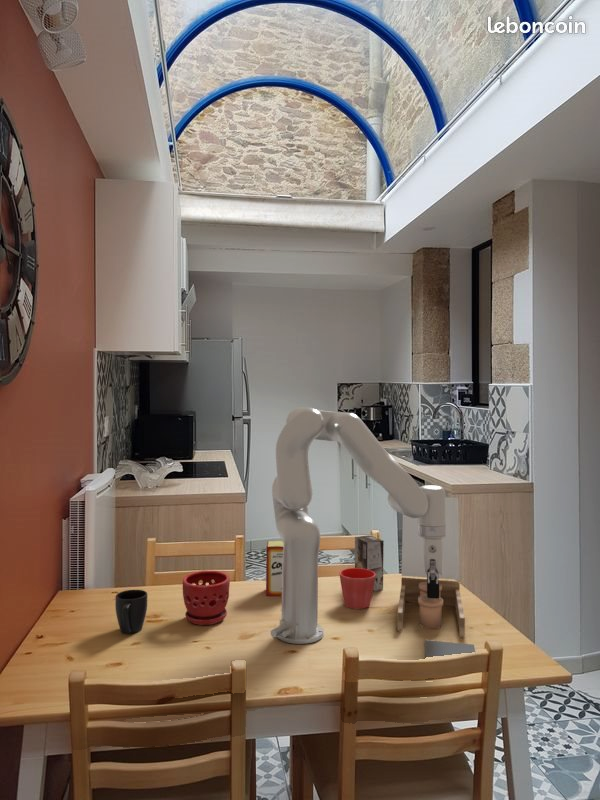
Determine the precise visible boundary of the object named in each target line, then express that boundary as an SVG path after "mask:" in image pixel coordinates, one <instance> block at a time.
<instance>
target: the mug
mask: <svg viewBox="0 0 600 800" xmlns="http://www.w3.org/2000/svg"><path fill="white" fill-rule="evenodd" d="M114 603H115V614H116V615H115V616H116V619H117V624H118V626H119V630H120V631H119V632H121V634H126V635H132V634H137V633H139V632H141V631H142V630H143V626H144V623H145V621H146V620H145V619H146V615H147V611H148V610H147V609H148V592H147V591H146V590H143V589H127V590H123V591H120V592H118V593H116V595H115V602H114Z"/></svg>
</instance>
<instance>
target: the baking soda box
mask: <svg viewBox="0 0 600 800" xmlns="http://www.w3.org/2000/svg"><path fill="white" fill-rule="evenodd" d="M283 545H284V544H283V540H275V541H274V540H273V541H272V540H271V541H270V540H269V541H267V542H266V548H265V549H266V552H265V553H266V557H265V558H266V559H265V560H266V561H265V562H266V563H265V564H266V566H265V567H266V568H265V570H266V571H265V574H266V575H265V584H266V585H265V597H282V558H283Z"/></svg>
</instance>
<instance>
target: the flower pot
mask: <svg viewBox="0 0 600 800" xmlns="http://www.w3.org/2000/svg"><path fill="white" fill-rule="evenodd" d="M375 577H376V574H375V573H374V572H373V571H371V570H368V569H362V568H355V567H349V568H345V569H342V570H340V571H339V581H340V585H341V586H340V588H341V592H342V598H343V603H344V605H345V606H346V607H347V608H350V609H353V608H354V610H362V609H363V608H364V609H366V607H367V608H369V607H370V605H371V601H372V597H373V592H374V591H373V588H374V583H375Z"/></svg>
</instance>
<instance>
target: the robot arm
mask: <svg viewBox="0 0 600 800" xmlns="http://www.w3.org/2000/svg"><path fill="white" fill-rule="evenodd" d="M285 423H286V424H285V425H284V426H283V428H282V429H281V431H280V433H279V435H278V438H277V441H276V444H275V461H276V462H275V463H276V477H275V478H274V479H273V483H272V487H271V488H272V489H271V493H272V503H273V511H274V513H273V514H274V519H275V527H276V530H277V533H278V535H279V537H280V538H281V541H282V542H283V544H284V545H283V558H282V596H281V619H280V620H279V625H278V626H277V627H275V628H273V629H271V630H270V636H271V637H272V638H277V639H278V640H280V641H282V642H285V643H289V644H295V645H303V644H312V643H315V642H318V641H320V640H321V639H322V638H323V636H324V629H323V628H322V626H320V625H319V624H318V616H319V614H318V610H319V607H318V606H319V605H318V604H319V603H318V602H319V600H318V599H319V595H318V594H319V554H320V547H321V531H320V528H319V526H318V524H317V522H316V521H315V520H314V519H313V518H312V517H311V516H309V511H308V506H309V505H310V503H311V501H312V497H313V489H312V488H313V487H312V483H311V482H312V481H311V474H310V466H309V449H310V446H311V444H312V442H313V441H314V440H319V441H327V442H337V443H339V445H341V446H342V448H343V449H344V450H345V451H346V452H347V453H348V455H349V456H350V457H351V458H352V460H353V461H354V462H355V464H356V465H357V466H358V468H359V469H360V470H361V471H362V472H363V473H364V474H365V475H366V476H368V478H369V479H371V480H373V481H374V482H375V483H377V484H379V485H380V487H382V488H383V489H384V490H385V491H386V493H388V495H387V501H388V504H389V506H390V508H392V509H393V510H394V511H396V512H398V513H399V514H402V515H403V514H404V515H406V516H408V517H410V518H418V536H420V537H422V538H423V557H424V567H425V573H426V574H427V578H426V579H427V597H428V598H437V599H438V598H439V581H438V580H439V578H438V573H439V574H441V575H442V574H443V543H442V538H445V537H446V512H445V497H446V491H445V488H444V487H442V486H439V485H430V484H427V485H422V486H419V484H418V483H417V481H416V480H415V479H414V478H413V477H412V476H411V474H409V473H408V472H407V471H406V470H405V468H404V467H402V465H401V464H400V463H399V462H398V461H397V460H396V459H395V458H394V457H393V456H392V455H391V454H390V453H389V452H388V451H387V450H386V449H385V448H384V446H382V443H381V442H380V441H379V440H378V439H377V438H376V436H375V435H374V434H373V432H372V431H371V430H370V429H369V427H368V426H367V424H366V423H364V421H363V420H362V419H361V418H360V417H359V416H358V415H357V414H355V413H353V412H345V411H344V412H343V411H328V410H321V409H316V408H313V407H303V406H301V407H300V406H299V407H295V408H294V409H292V410H291V411H290V412H289V413H288V415H287V417H286V421H285ZM435 571H436V572H435Z"/></svg>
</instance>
